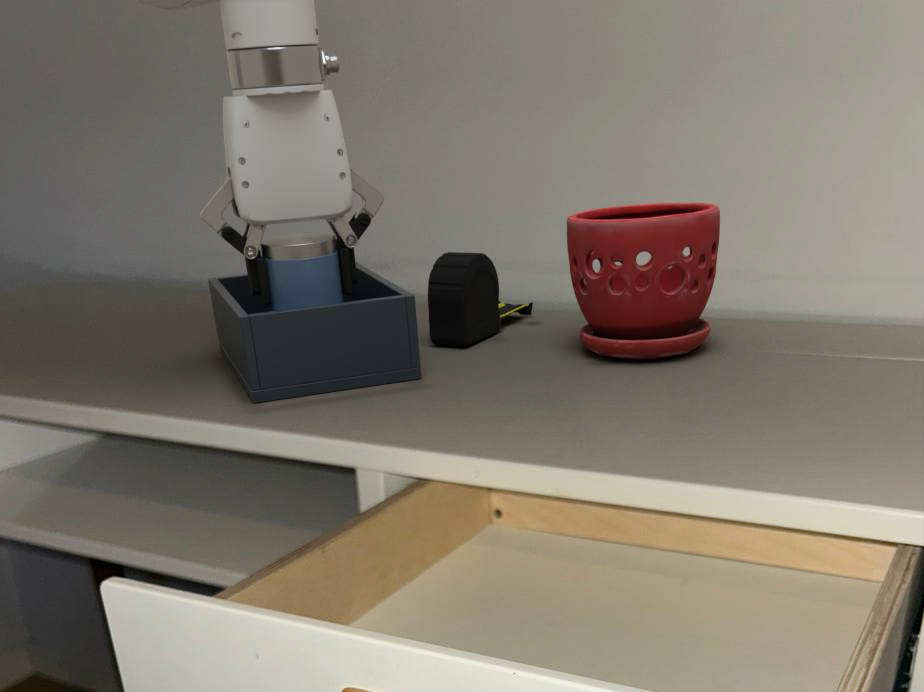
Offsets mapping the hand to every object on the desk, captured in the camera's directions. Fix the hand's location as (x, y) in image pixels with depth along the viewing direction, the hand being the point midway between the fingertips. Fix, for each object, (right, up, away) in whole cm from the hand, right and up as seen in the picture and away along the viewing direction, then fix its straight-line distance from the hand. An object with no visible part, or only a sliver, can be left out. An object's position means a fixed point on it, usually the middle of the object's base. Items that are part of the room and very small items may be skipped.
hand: (305, 296), depth 96 cm
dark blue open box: (0, -5, +3) cm, 6 cm away
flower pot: (+30, -4, +1) cm, 31 cm away
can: (0, -2, +1) cm, 2 cm away
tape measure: (+16, 0, +11) cm, 19 cm away
